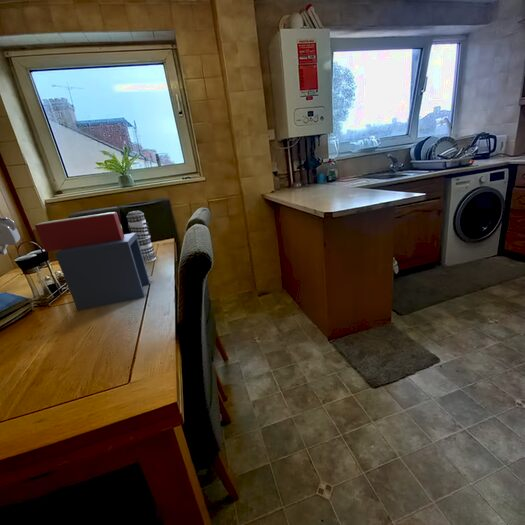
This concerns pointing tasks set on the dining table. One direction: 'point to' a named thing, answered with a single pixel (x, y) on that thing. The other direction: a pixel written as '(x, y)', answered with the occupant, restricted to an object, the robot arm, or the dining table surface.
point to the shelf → (104, 272)
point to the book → (79, 231)
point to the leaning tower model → (141, 234)
